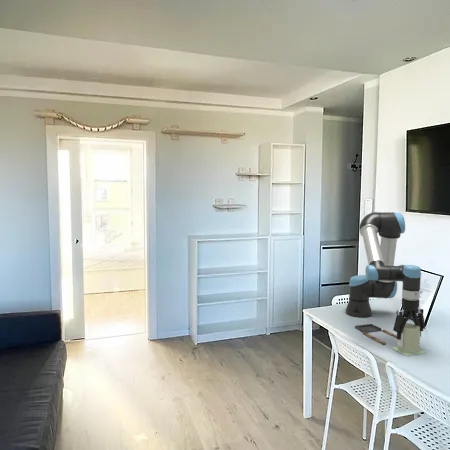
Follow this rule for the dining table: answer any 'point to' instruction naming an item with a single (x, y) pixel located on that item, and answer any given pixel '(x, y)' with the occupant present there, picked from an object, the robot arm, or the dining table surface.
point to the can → (410, 339)
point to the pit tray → (368, 328)
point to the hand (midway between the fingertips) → (408, 344)
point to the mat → (408, 353)
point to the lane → (378, 339)
